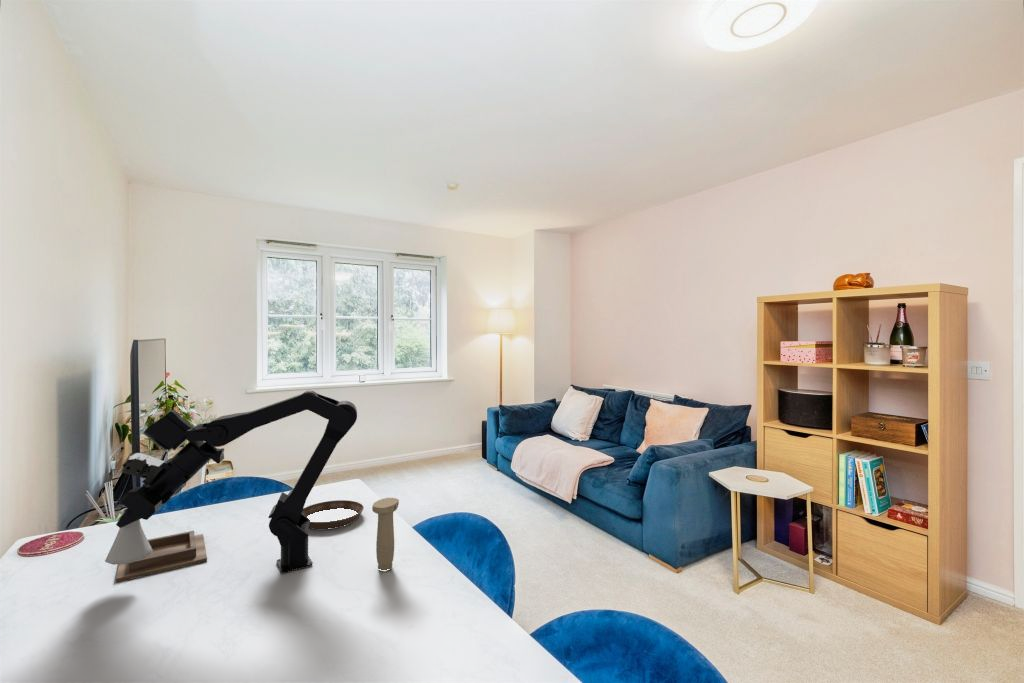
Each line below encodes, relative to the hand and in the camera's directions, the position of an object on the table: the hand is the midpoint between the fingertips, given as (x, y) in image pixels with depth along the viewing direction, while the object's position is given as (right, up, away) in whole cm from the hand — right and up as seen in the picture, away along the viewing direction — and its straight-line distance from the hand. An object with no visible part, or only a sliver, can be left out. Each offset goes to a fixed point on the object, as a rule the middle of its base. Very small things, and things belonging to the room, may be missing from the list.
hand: (122, 523), depth 95 cm
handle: (+52, -14, +9) cm, 54 cm away
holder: (-1, -13, +13) cm, 19 cm away
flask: (+1, -7, 0) cm, 8 cm away
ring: (+29, -14, +37) cm, 48 cm away
